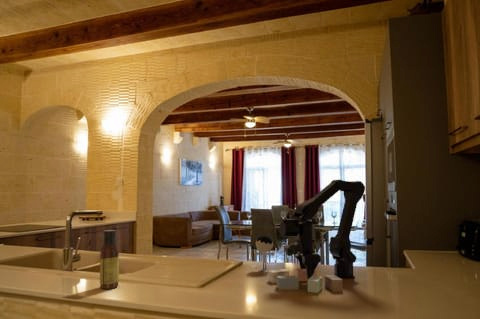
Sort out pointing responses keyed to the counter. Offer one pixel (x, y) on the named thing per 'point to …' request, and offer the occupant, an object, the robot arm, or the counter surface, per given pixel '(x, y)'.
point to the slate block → (287, 282)
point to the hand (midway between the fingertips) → (306, 276)
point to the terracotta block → (303, 274)
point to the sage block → (314, 284)
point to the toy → (264, 247)
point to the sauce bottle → (109, 261)
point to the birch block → (277, 274)
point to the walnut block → (333, 283)
